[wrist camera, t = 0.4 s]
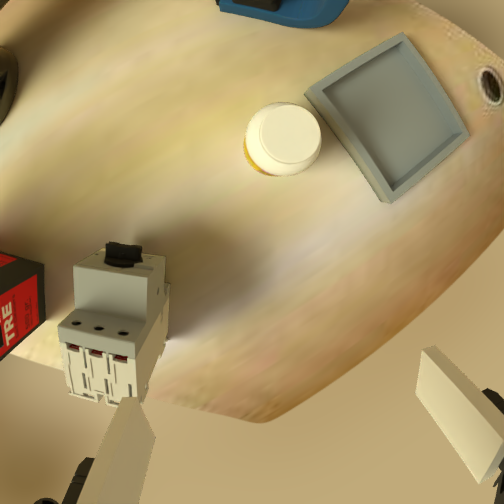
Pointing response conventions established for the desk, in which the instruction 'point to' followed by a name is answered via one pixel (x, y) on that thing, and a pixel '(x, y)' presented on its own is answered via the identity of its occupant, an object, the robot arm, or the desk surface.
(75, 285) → the circuit breaker
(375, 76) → the tray
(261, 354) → the desk surface
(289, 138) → the supplement bottle
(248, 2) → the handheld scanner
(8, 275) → the cleaning product box
